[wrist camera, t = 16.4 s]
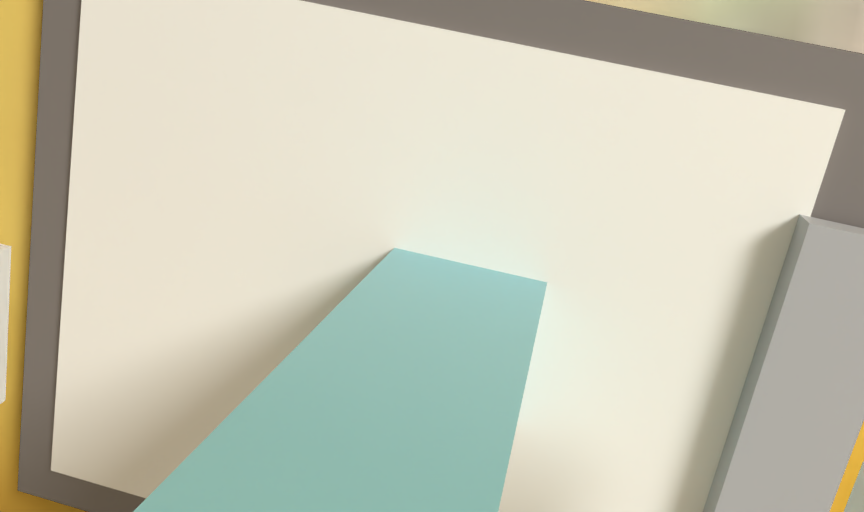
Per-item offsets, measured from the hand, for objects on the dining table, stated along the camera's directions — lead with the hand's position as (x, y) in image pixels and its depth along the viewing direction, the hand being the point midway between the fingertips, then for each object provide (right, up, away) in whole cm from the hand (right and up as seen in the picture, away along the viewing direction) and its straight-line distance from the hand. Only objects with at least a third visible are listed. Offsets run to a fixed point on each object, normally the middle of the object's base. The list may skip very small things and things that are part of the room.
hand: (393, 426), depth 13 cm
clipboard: (0, +1, +6) cm, 6 cm away
